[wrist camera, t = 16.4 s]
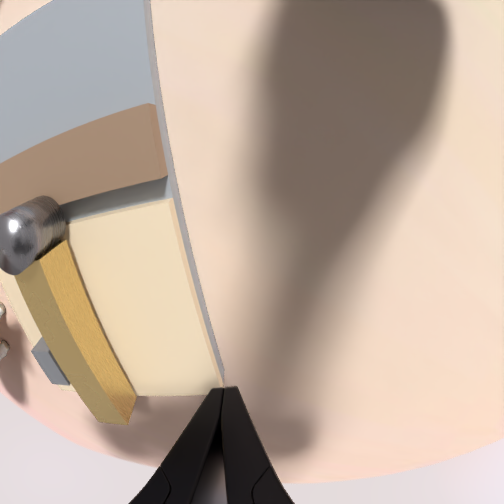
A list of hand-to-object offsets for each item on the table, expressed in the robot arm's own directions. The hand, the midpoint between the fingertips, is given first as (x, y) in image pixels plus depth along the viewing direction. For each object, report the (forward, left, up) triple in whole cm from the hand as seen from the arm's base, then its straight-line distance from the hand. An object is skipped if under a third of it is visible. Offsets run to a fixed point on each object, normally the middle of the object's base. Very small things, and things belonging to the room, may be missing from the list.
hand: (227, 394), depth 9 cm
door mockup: (-6, -8, -7) cm, 12 cm away
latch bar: (-1, -8, -4) cm, 9 cm away
